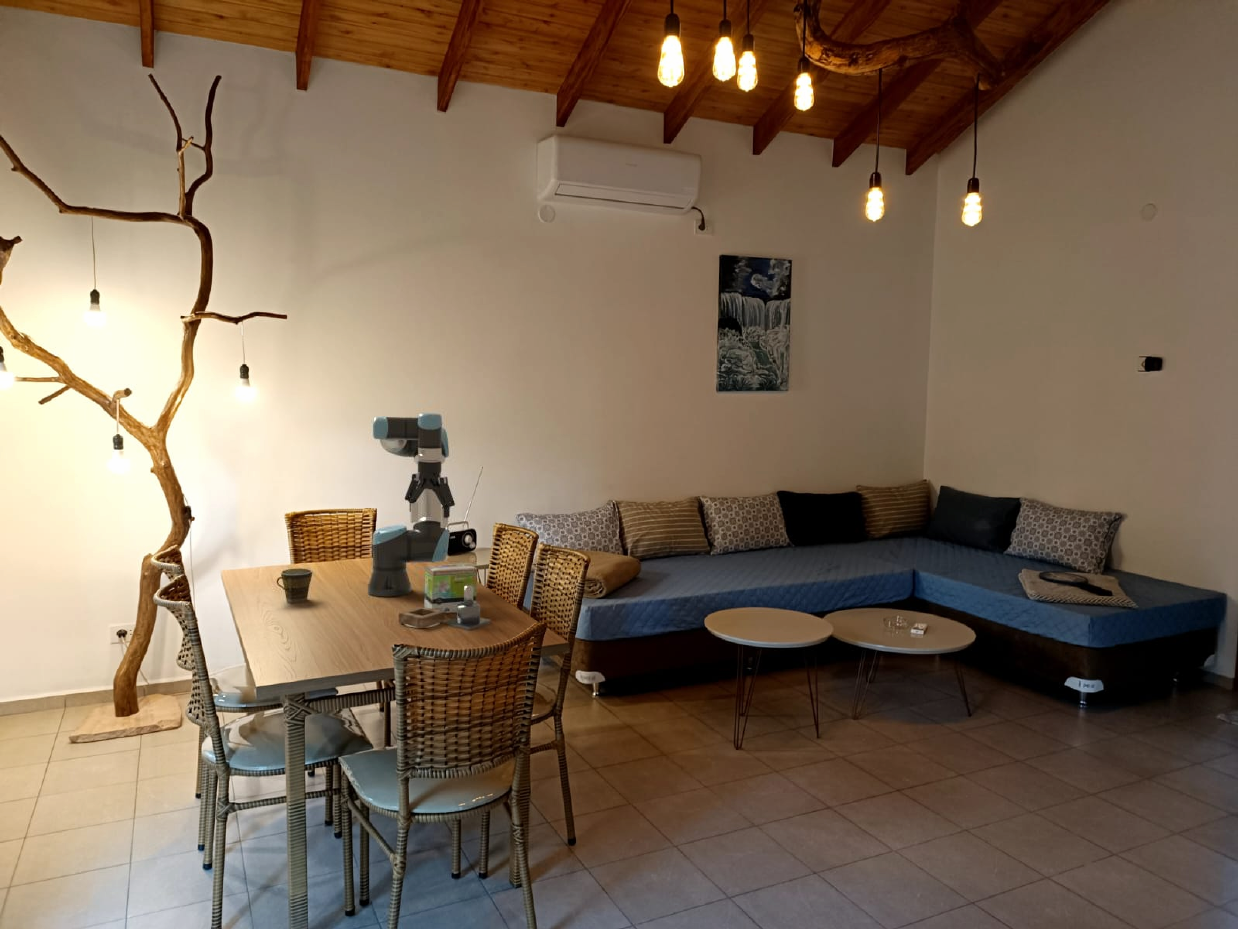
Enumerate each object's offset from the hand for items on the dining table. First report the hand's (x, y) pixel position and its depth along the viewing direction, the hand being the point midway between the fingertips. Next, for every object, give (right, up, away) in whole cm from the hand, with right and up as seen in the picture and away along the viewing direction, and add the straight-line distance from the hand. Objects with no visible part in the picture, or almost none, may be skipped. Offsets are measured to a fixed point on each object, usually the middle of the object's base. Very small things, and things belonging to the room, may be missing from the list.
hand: (429, 524), depth 284 cm
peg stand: (+15, -30, -13) cm, 36 cm away
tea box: (+6, -29, +3) cm, 30 cm away
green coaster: (+1, -30, -13) cm, 33 cm away
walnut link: (+1, -29, -13) cm, 32 cm away
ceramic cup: (-48, -27, +7) cm, 55 cm away
